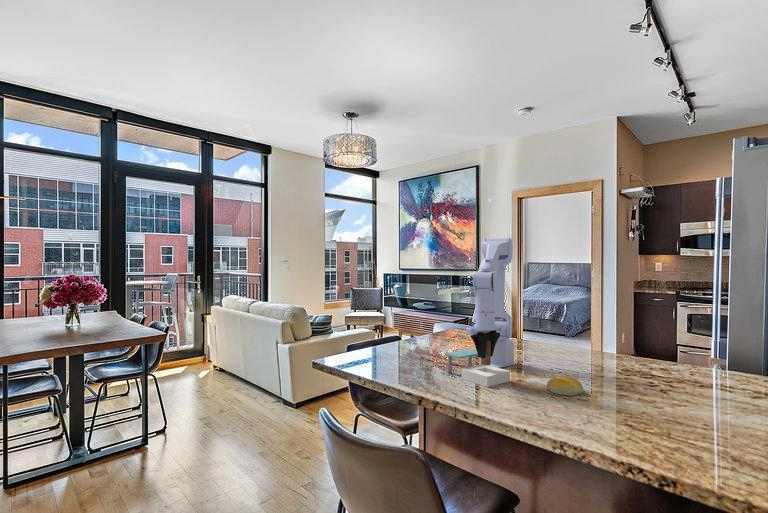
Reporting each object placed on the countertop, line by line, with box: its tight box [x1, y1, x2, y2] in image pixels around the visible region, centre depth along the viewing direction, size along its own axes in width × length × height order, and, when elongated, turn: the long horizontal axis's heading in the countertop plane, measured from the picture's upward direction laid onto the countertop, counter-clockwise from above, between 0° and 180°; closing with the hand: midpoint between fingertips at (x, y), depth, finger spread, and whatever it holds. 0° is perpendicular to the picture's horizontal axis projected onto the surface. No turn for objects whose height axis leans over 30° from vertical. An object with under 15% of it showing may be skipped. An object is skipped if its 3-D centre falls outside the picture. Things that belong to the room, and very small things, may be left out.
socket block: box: [461, 364, 511, 388], centre depth 119 cm, size 10×10×3 cm
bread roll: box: [546, 375, 584, 397], centre depth 108 cm, size 8×9×4 cm
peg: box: [480, 340, 491, 365], centre depth 119 cm, size 3×3×7 cm
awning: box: [445, 348, 478, 375], centre depth 127 cm, size 11×6×6 cm, turn 124°
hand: (485, 356), depth 119 cm, fingers closed on peg, 3 cm apart
